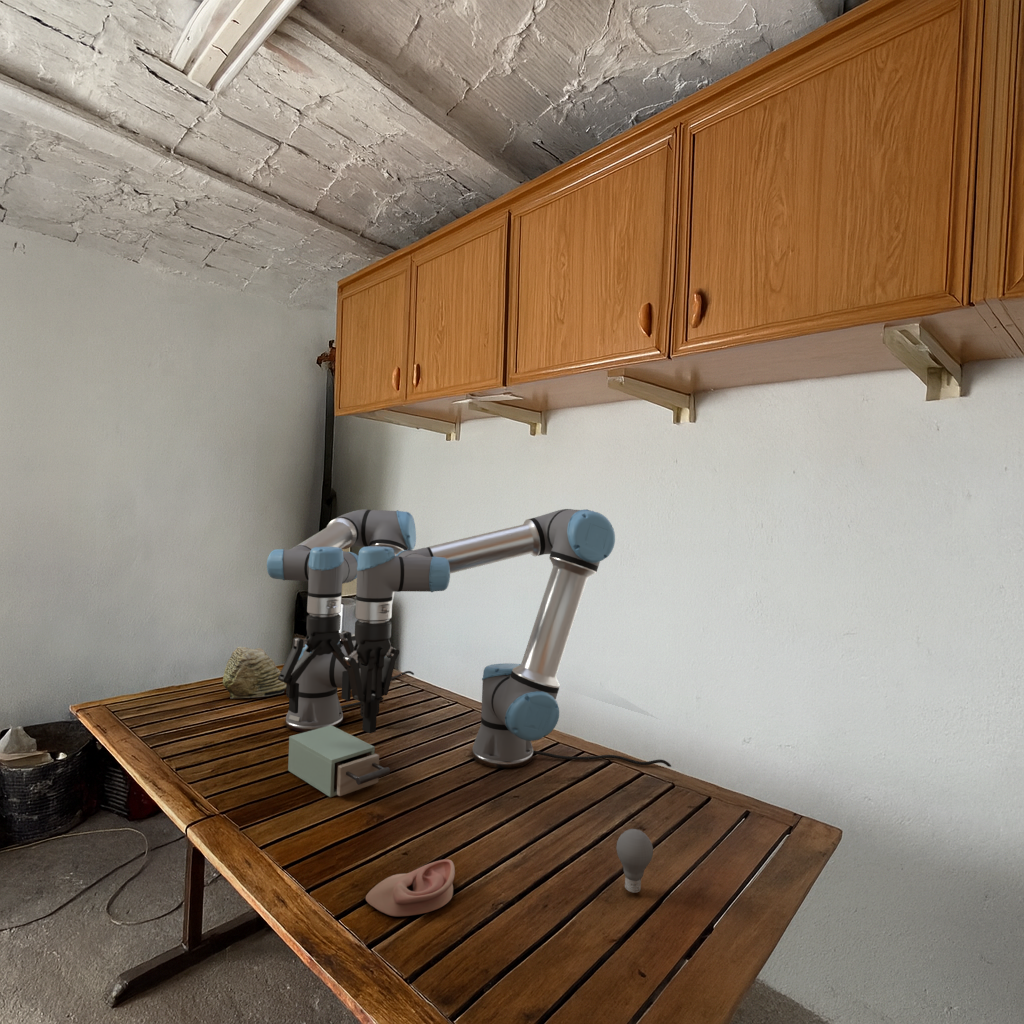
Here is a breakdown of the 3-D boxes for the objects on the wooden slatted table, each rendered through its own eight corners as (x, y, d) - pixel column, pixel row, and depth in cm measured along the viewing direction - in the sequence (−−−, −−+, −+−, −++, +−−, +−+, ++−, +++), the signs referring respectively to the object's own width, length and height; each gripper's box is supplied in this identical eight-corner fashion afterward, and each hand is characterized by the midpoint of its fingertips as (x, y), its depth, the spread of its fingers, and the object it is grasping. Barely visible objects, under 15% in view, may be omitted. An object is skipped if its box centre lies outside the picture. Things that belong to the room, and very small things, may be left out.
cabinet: (373, 781, 142) (374, 746, 142) (330, 797, 134) (331, 760, 134) (329, 757, 154) (331, 725, 154) (287, 770, 146) (289, 736, 145)
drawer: (393, 790, 136) (394, 762, 136) (354, 805, 129) (355, 776, 129) (336, 759, 151) (337, 733, 151) (298, 771, 143) (299, 744, 143)
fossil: (218, 695, 195) (220, 647, 195) (278, 685, 208) (279, 640, 207) (228, 703, 189) (230, 653, 188) (289, 692, 201) (290, 645, 201)
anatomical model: (357, 884, 98) (387, 845, 109) (356, 910, 98) (386, 868, 109) (440, 899, 95) (461, 857, 106) (439, 925, 95) (460, 881, 106)
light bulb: (610, 879, 108) (613, 822, 108) (644, 879, 109) (647, 822, 109) (619, 902, 102) (622, 840, 102) (655, 901, 103) (658, 840, 103)
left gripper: (281, 622, 135) (277, 721, 135) (378, 611, 153) (374, 698, 153) (264, 617, 140) (260, 712, 140) (360, 606, 158) (357, 691, 158)
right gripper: (357, 626, 126) (352, 743, 127) (409, 619, 136) (404, 728, 136) (336, 620, 131) (332, 733, 132) (387, 613, 141) (383, 719, 141)
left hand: (320, 705), depth 147 cm, fingers open, 13 cm apart
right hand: (369, 730), depth 134 cm, fingers closed
